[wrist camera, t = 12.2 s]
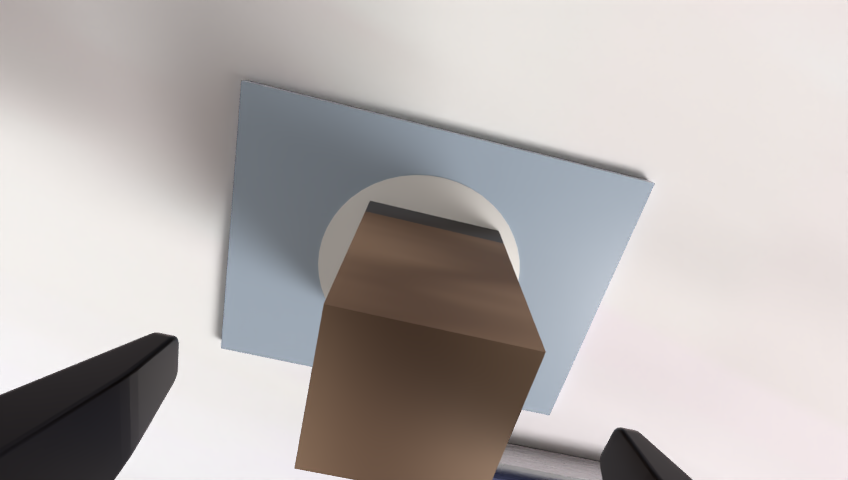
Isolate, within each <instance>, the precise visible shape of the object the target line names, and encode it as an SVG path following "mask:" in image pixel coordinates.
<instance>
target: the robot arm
mask: <svg viewBox="0 0 848 480" xmlns="http://www.w3.org/2000/svg"><path fill="white" fill-rule="evenodd" d="M178 348H179V343H178V339H177V337H175V336H172V335H168V334H163V333H152V334H149V335H147V336H144V337H142V338H139V339H137V340H134V341H132V342H129V343H127V344H124V345H122V346H120V347H117V348H115V349H112V350H110V351H107V352H105V353H102V354H100V355H97V356H95V357H92V358H90V359H87V360H85V361H83V362H80V363H78V364H75V365H73V366H70V367H68V368H65V369H63V370H60V371H58V372H55V373H53V374H51V375H48V376H46V377H43V378H41V379H38V380H36V381H33V382H31V383H28V384H26V385H23V386H21V387H18V388H16V389H14V390H11V391H9V392H6V393H4V394H1V395H0V480H114V479H115V478H116V477H117V475H118V474H119V472H120V471H121V470H122V468H123V467H124V465H125V464H126V462H127V461H128V460H129V458H130V457H131V455H132V453H133V452H134V450H135V449H136V447H137V445H138V444H139V442H140V440H141V438H142V437H143V435H144V433H145V431H146V430H147V428H148V426H149V425H150V423H151V421H152V419H153V418H154V416H155V414H156V412H157V411H158V409H159V407H160V406H161V404H162V402H163V400H164V399H165V397H166V395H167V393H168V392H169V390H170V388H171V386H172V385H173V383H174V381H175V379H176V376H177V372H178ZM600 470H601V475H602V480H692V479H691V478H690V477H689V476H688V475H687V474H686V473H684V472H683V471H682V470H681V469H680V468H679V467H678V466H677V465H675V464H674V463H673V462H672V461H671V460H670V459H669V458H668V457H666V456H665V455H664V454H663V453H662V452H661V451H660V450H659V449H657V448H656V447H655V446H654V445H653V444H652V443H651V442H650V441H648V440H647V439H646V438H645V437H644V436H643V435H642V434H641V433H639V432H638V431H635V430H631V429H626V428H617V429H615V430H614V432H613V433H612V435H611V437H610V439H609V441H608V443H607V445H606V446H605V448H604V450H603V452H602V454H601V457H600Z"/></svg>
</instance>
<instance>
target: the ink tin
mask: <svg viewBox="0 0 848 480" xmlns="http://www.w3.org/2000/svg"><path fill="white" fill-rule="evenodd" d="M492 480H602V475H601V470H600V462H599V461H594V460H589V459H584V458H579V457H574V456H569V455H564V454H559V453H554V452H549V451H543V450H538V449H533V448H528V447H523V446H518V445H513V444H508V443H507V446H506V448H505V450H504V453H503V455H502V457H501V460H500V462H499V465H498V467H497V469H496V472H495V474H494V476H493V479H492Z"/></svg>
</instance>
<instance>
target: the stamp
mask: <svg viewBox="0 0 848 480" xmlns="http://www.w3.org/2000/svg"><path fill="white" fill-rule="evenodd" d="M545 353H546V351H545V349H544V346H543V343H542V341H541V338H540V336H539V333H538V331H537V328H536V325H535V323H534V320H533V318H532V315H531V313H530V310H529V307H528V305H527V302H526V300H525V297H524V294H523V292H522V289H521V287H520V284H519V282H518V279H517V276H516V274H515V271H514V269H513V266H512V263H511V261H510V258H509V256H508V253H507V251H506V248H505V245H504V243H503V240H502V238H501V235H500V233H499V231H497V230H493V229H489V228H484V227H480V226H476V225H472V224H467V223H463V222H459V221H455V220H450V219H446V218H442V217H438V216H433V215H429V214H425V213H421V212H416V211H412V210H408V209H404V208H399V207H395V206H391V205H386V204H382V203H378V202H374V201H370V202H369V204H368V206H367V209H366V211H365V213H364V215H363V217H362V220H361V222H360V224H359V226H358V229H357V231H356V233H355V235H354V237H353V240H352V242H351V244H350V246H349V249H348V251H347V253H346V255H345V258H344V260H343V262H342V264H341V266H340V269H339V271H338V273H337V275H336V278H335V280H334V282H333V284H332V287H331V289H330V291H329V293H328V295H327V298H326V300H325V302H324V305H323V310H322V316H321V322H320V327H319V333H318V339H317V344H316V350H315V355H314V361H313V367H312V372H311V378H310V384H309V389H308V395H307V401H306V406H305V412H304V418H303V423H302V429H301V435H300V440H299V446H298V452H297V457H296V463H295V469H300V470H305V471H311V472H316V473H321V474H327V475H332V476H337V477H343V478H348V479H353V480H492V479H493V476H494V474H495V472H496V469H497V467H498V465H499V462H500V460H501V457H502V455H503V453H504V450H505V448H506V446H507V443H508V441H509V438H510V436H511V434H512V431H513V429H514V427H515V424H516V422H517V419H518V417H519V415H520V412H521V410H522V408H523V405H524V403H525V400H526V398H527V396H528V393H529V391H530V389H531V386H532V384H533V381H534V379H535V377H536V374H537V372H538V370H539V367H540V365H541V363H542V360H543V358H544V355H545Z"/></svg>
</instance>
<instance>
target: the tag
mask: <svg viewBox="0 0 848 480" xmlns="http://www.w3.org/2000/svg"><path fill="white" fill-rule="evenodd" d="M654 184H655V183H653V182H651V181H648V180H644V179H640V178H636V177H632V176H628V175H624V174H620V173H616V172H612V171H608V170H604V169H600V168H596V167H592V166H588V165H584V164H580V163H576V162H572V161H568V160H564V159H560V158H556V157H552V156H548V155H544V154H540V153H536V152H532V151H528V150H524V149H520V148H516V147H512V146H508V145H504V144H500V143H496V142H492V141H488V140H484V139H480V138H476V137H472V136H468V135H464V134H460V133H456V132H452V131H448V130H444V129H440V128H436V127H432V126H428V125H424V124H420V123H416V122H412V121H407V120H403V119H399V118H395V117H391V116H387V115H383V114H379V113H375V112H371V111H367V110H363V109H359V108H355V107H351V106H347V105H343V104H339V103H335V102H331V101H327V100H323V99H319V98H315V97H311V96H307V95H303V94H299V93H295V92H291V91H287V90H283V89H279V88H275V87H271V86H267V85H263V84H259V83H255V82H251V81H247V80H243V81H241V93H240V106H239V119H238V132H237V146H236V159H235V172H234V185H233V198H232V211H231V224H230V237H229V251H228V264H227V277H226V290H225V303H224V316H223V329H222V343H221V348H223V349H228V350H232V351H237V352H242V353H247V354H252V355H257V356H262V357H267V358H272V359H277V360H281V361H286V362H291V363H296V364H301V365H306V366H311V367H313V361H314V355H315V350H316V344H317V339H318V333H319V327H320V322H321V316H322V310H323V305H324V302H325V300H326V298H327V295H328V293H329V291H330V289H331V287H332V284H333V282H334V280H335V278H336V275H337V273H338V271H339V269H340V266H341V264H342V262H343V260H344V258H345V255H346V253H347V251H348V249H349V246H350V244H351V242H352V240H353V237H354V235H355V233H356V231H357V229H358V226H359V224H360V222H361V220H362V217H363V215H364V213H365V211H366V209H367V206H368V204H369V202H370V201H374V202H378V203H382V204H386V205H391V206H395V207H399V208H404V209H408V210H412V211H416V212H421V213H425V214H429V215H433V216H438V217H442V218H446V219H450V220H455V221H459V222H463V223H467V224H472V225H476V226H480V227H484V228H489V229H493V230H497V231H499V233H500V235H501V238H502V240H503V243H504V245H505V248H506V251H507V253H508V256H509V258H510V261H511V263H512V266H513V269H514V271H515V274H516V276H517V279H518V282H519V284H520V287H521V289H522V292H523V294H524V297H525V300H526V302H527V305H528V307H529V310H530V313H531V315H532V318H533V320H534V323H535V325H536V328H537V331H538V333H539V336H540V338H541V341H542V343H543V346H544V349H545V351H546V353H545V355H544V358H543V360H542V363H541V365H540V367H539V370H538V372H537V374H536V377H535V379H534V381H533V384H532V386H531V389H530V391H529V393H528V396H527V398H526V400H525V403H524V405H523V408H522V410H526V411H531V412H536V413H541V414H546V415H550V413H551V411H552V408H553V406H554V404H555V402H556V400H557V397H558V395H559V393H560V391H561V389H562V386H563V384H564V382H565V380H566V378H567V375H568V373H569V371H570V369H571V367H572V364H573V362H574V360H575V358H576V356H577V353H578V351H579V349H580V347H581V345H582V342H583V340H584V338H585V336H586V334H587V331H588V329H589V327H590V325H591V323H592V320H593V318H594V316H595V314H596V312H597V309H598V307H599V305H600V303H601V301H602V298H603V296H604V294H605V292H606V290H607V287H608V285H609V283H610V281H611V279H612V276H613V274H614V272H615V270H616V268H617V265H618V263H619V261H620V259H621V257H622V254H623V252H624V250H625V248H626V246H627V243H628V241H629V239H630V237H631V235H632V232H633V230H634V228H635V226H636V224H637V221H638V219H639V217H640V215H641V213H642V210H643V208H644V206H645V204H646V202H647V199H648V197H649V195H650V193H651V191H652V188H653V186H654Z"/></svg>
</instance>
